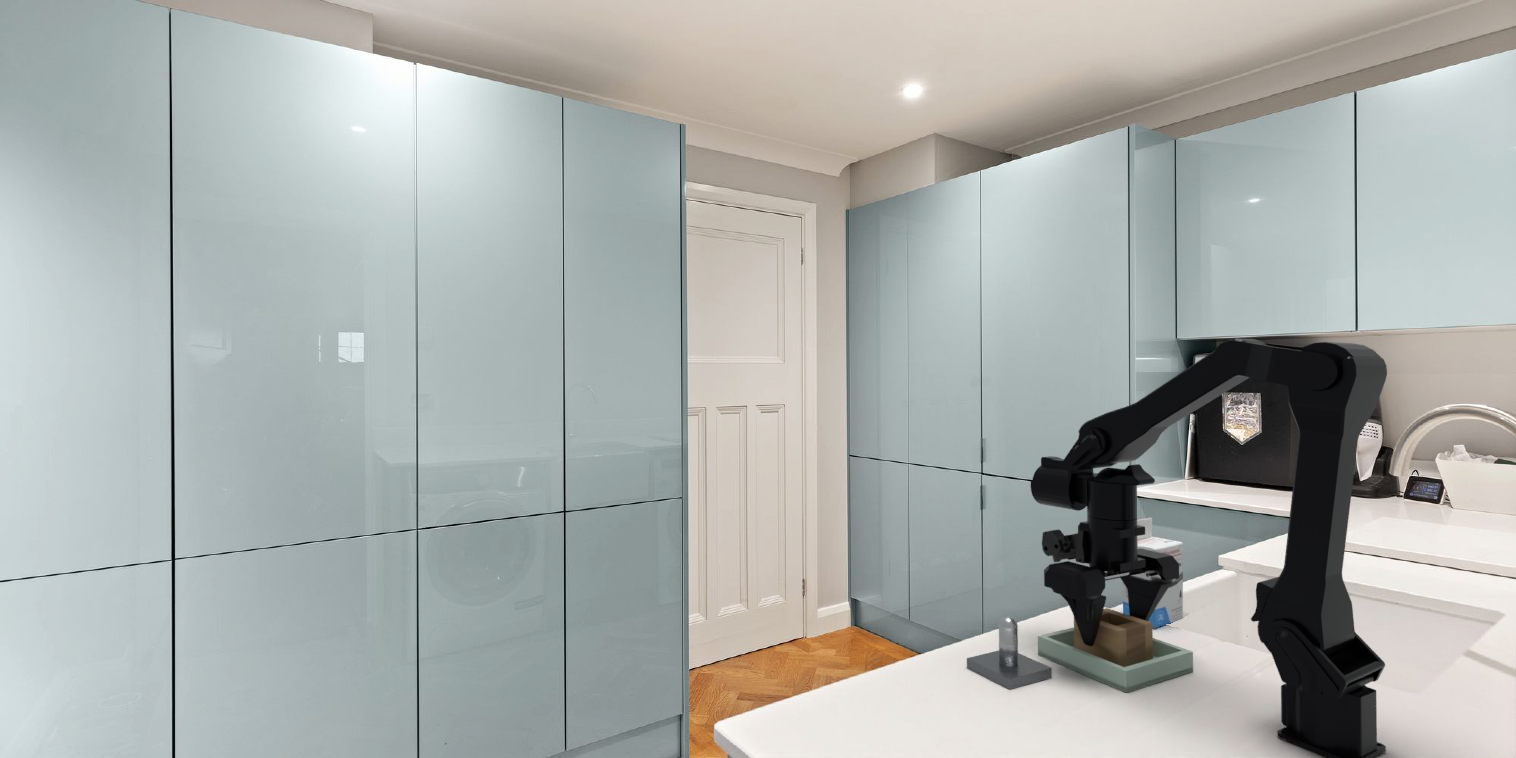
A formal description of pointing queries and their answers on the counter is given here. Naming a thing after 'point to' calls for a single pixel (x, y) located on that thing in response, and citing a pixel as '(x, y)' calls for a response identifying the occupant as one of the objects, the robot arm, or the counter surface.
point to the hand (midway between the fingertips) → (1113, 638)
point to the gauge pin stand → (1009, 661)
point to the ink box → (1173, 597)
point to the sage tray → (1162, 667)
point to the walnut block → (1119, 639)
